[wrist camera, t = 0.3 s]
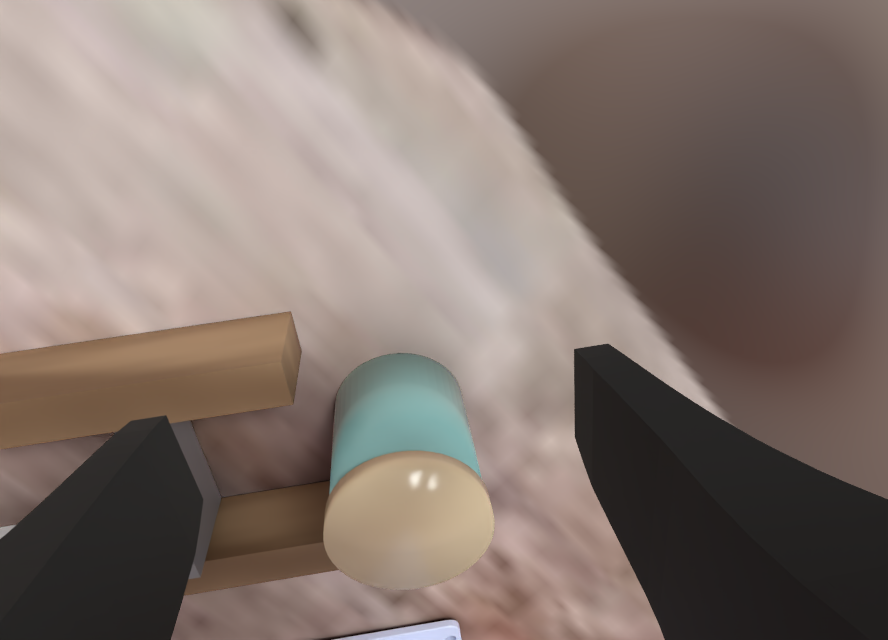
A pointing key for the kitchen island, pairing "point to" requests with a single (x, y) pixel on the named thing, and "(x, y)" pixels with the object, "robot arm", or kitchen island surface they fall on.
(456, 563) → the jar
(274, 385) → the wooden pieces
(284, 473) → the kitchen island surface
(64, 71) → the kitchen island surface
